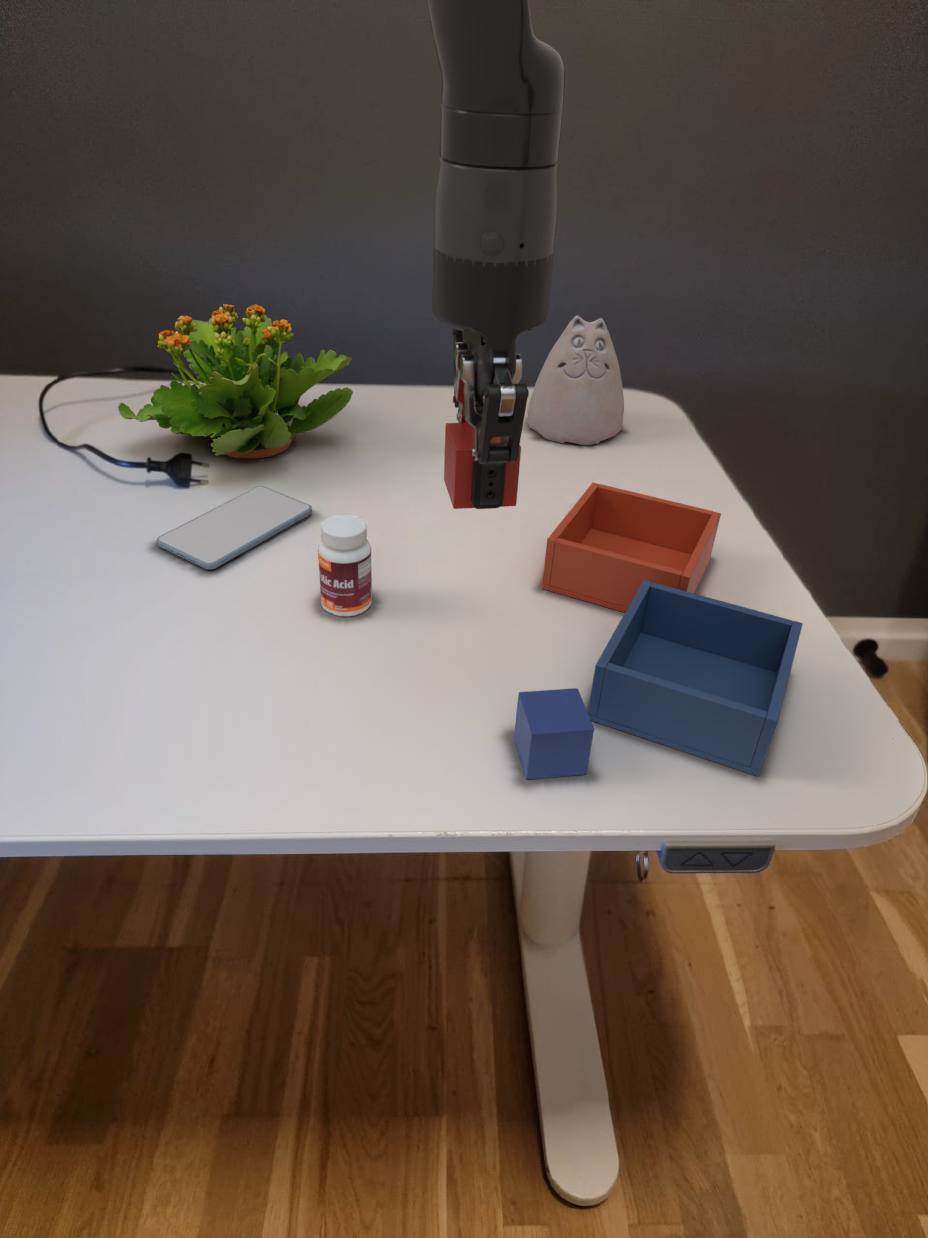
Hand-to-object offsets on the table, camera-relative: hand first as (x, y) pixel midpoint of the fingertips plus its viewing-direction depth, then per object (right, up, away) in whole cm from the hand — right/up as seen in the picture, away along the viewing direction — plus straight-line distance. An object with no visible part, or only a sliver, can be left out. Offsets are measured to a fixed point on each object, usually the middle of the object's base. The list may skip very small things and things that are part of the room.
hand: (479, 488), depth 63 cm
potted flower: (-27, +12, +45) cm, 54 cm away
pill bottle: (-12, -8, +17) cm, 23 cm away
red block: (0, 0, 0) cm, 0 cm away
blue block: (+5, -20, +2) cm, 21 cm away
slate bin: (+18, -16, +9) cm, 25 cm away
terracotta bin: (+15, -5, +24) cm, 29 cm away
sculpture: (+14, +16, +53) cm, 57 cm away
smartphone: (-25, 0, +27) cm, 37 cm away
